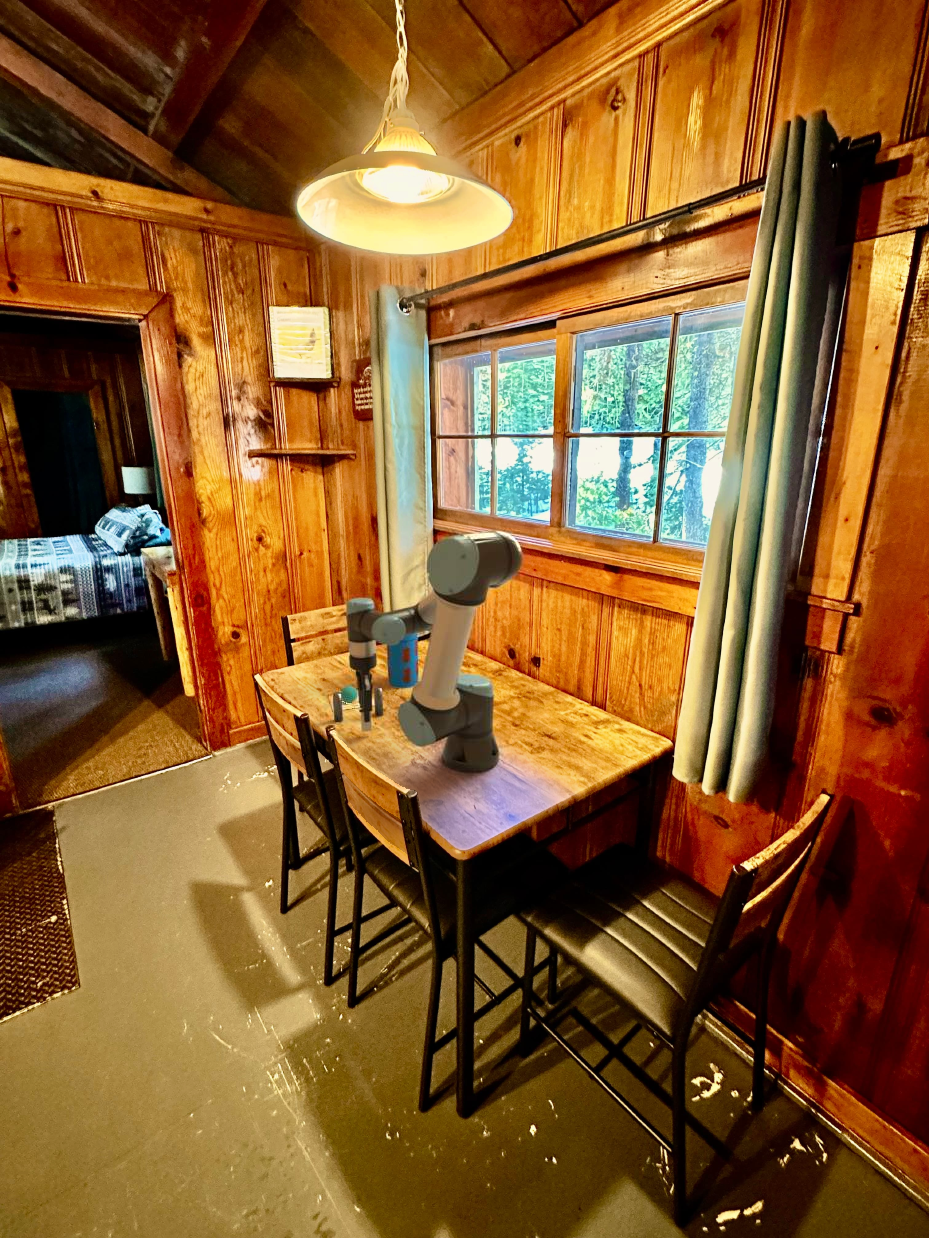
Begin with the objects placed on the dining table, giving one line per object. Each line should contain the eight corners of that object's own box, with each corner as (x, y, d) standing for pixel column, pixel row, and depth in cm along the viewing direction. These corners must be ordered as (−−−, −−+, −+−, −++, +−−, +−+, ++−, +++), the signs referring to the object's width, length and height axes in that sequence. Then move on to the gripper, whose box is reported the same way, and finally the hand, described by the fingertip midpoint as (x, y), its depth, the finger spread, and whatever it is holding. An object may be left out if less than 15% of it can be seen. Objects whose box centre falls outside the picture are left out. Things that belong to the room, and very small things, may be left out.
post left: (343, 721, 175) (341, 694, 173) (334, 723, 174) (333, 695, 172) (342, 718, 178) (340, 691, 175) (333, 719, 177) (331, 692, 174)
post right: (384, 715, 179) (382, 688, 177) (375, 716, 179) (374, 690, 176) (382, 712, 182) (381, 685, 179) (374, 713, 181) (372, 687, 178)
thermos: (422, 678, 209) (421, 612, 202) (412, 689, 199) (410, 620, 192) (395, 675, 212) (392, 610, 205) (383, 686, 202) (380, 618, 195)
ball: (354, 689, 193) (357, 704, 191) (338, 691, 191) (341, 706, 188) (356, 682, 189) (360, 697, 186) (340, 684, 187) (343, 699, 184)
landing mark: (376, 705, 187) (376, 704, 187) (333, 711, 182) (333, 711, 182) (368, 689, 199) (368, 688, 199) (327, 695, 195) (327, 694, 195)
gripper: (345, 647, 164) (350, 722, 171) (352, 662, 152) (357, 742, 159) (371, 644, 166) (375, 718, 173) (380, 659, 155) (384, 738, 161)
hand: (366, 730), depth 166 cm, fingers closed
